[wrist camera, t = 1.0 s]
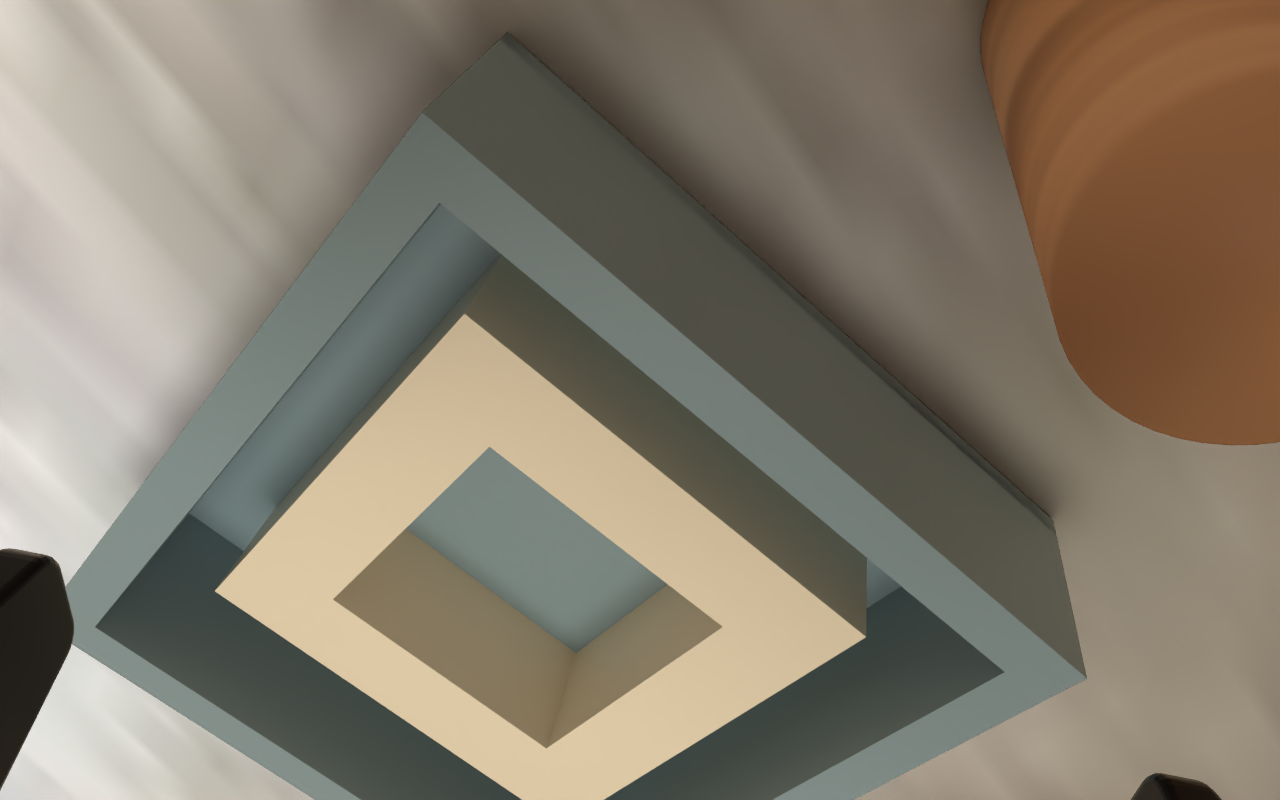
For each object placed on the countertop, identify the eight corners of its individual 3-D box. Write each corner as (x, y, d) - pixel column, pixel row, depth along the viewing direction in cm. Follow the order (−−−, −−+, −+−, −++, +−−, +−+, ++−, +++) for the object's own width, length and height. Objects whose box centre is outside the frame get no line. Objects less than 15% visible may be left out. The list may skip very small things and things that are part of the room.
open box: (1053, 520, 23) (1086, 678, 20) (593, 805, 31) (556, 954, 28) (507, 32, 20) (421, 111, 16) (149, 498, 28) (38, 622, 24)
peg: (1296, 25, 17) (1611, 277, 10) (1083, 193, 19) (1213, 507, 12) (1136, -161, 16) (1351, -35, 9) (930, 37, 18) (967, 272, 11)
